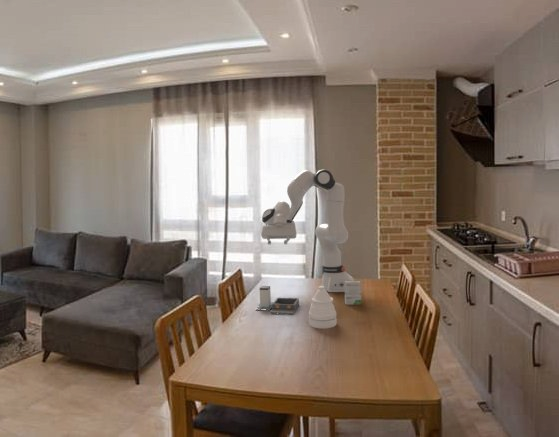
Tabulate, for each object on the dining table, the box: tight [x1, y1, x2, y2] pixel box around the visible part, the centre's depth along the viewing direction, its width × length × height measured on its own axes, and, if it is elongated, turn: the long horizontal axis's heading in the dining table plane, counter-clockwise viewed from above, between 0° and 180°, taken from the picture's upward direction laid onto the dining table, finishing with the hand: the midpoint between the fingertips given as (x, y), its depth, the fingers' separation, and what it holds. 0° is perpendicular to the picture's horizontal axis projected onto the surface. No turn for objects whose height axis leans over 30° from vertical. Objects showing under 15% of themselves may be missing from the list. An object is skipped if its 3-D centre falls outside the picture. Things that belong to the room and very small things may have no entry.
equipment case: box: [269, 297, 300, 316], centre depth 219 cm, size 12×17×4 cm
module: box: [259, 285, 272, 307], centre depth 223 cm, size 5×5×10 cm
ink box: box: [344, 280, 362, 306], centre depth 225 cm, size 9×5×12 cm, turn 84°
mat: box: [256, 301, 274, 311], centre depth 224 cm, size 8×12×1 cm, turn 167°
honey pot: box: [308, 285, 338, 329], centre depth 195 cm, size 13×13×18 cm
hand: (277, 243), depth 238 cm, fingers open, 8 cm apart
